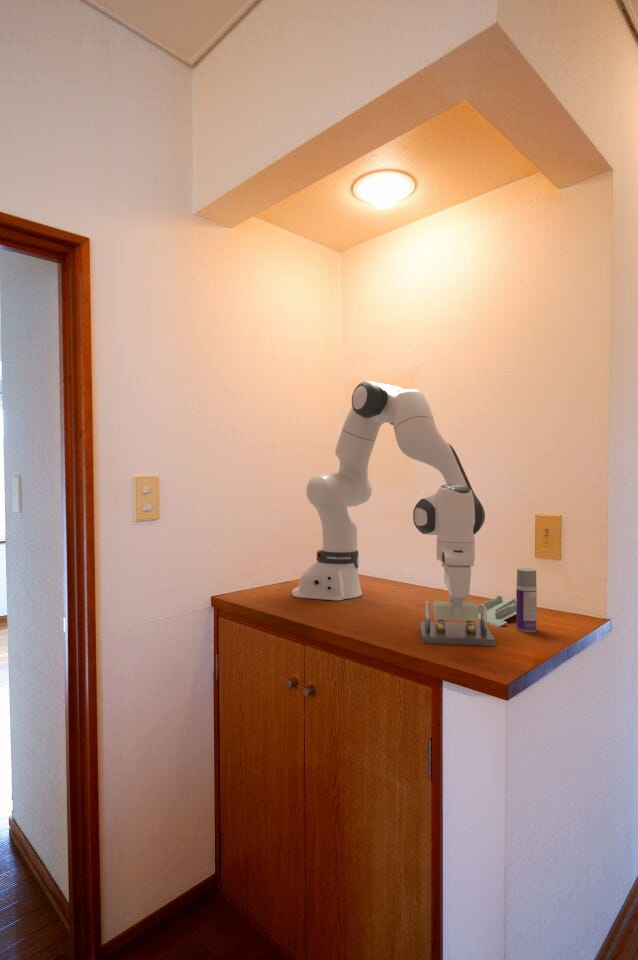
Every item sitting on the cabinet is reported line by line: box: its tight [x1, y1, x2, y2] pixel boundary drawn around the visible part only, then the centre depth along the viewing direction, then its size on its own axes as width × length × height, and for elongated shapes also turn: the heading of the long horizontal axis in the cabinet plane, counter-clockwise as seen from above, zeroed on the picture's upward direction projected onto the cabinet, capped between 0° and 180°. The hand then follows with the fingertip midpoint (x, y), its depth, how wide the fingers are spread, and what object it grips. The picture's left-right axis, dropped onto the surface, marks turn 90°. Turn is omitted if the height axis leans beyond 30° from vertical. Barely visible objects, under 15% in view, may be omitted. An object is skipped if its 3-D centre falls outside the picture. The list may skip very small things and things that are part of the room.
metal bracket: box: [477, 595, 516, 628], centre depth 145 cm, size 14×6×15 cm
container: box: [515, 567, 538, 633], centre depth 134 cm, size 5×5×15 cm
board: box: [433, 600, 480, 622], centre depth 128 cm, size 10×5×3 cm, turn 81°
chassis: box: [419, 601, 496, 647], centre depth 128 cm, size 16×13×8 cm
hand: (455, 610), depth 128 cm, fingers closed on board, 5 cm apart
